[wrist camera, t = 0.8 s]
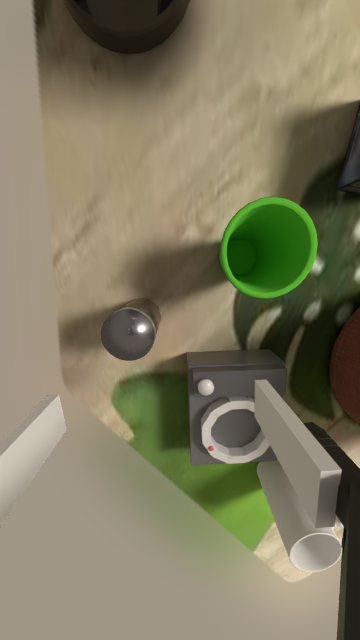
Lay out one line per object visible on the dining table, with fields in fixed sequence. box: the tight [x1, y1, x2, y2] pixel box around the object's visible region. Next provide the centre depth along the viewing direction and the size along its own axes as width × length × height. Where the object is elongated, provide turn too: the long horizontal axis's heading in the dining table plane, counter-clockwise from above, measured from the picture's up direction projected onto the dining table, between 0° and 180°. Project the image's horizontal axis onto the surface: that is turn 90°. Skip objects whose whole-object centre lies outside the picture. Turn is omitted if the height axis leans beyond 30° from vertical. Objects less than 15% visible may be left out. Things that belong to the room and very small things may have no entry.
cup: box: [219, 197, 318, 299], centre depth 25 cm, size 9×9×11 cm
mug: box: [257, 459, 344, 572], centre depth 32 cm, size 10×7×12 cm, turn 124°
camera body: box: [187, 349, 287, 465], centre depth 32 cm, size 16×13×7 cm
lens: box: [101, 298, 161, 361], centre depth 27 cm, size 6×6×10 cm
